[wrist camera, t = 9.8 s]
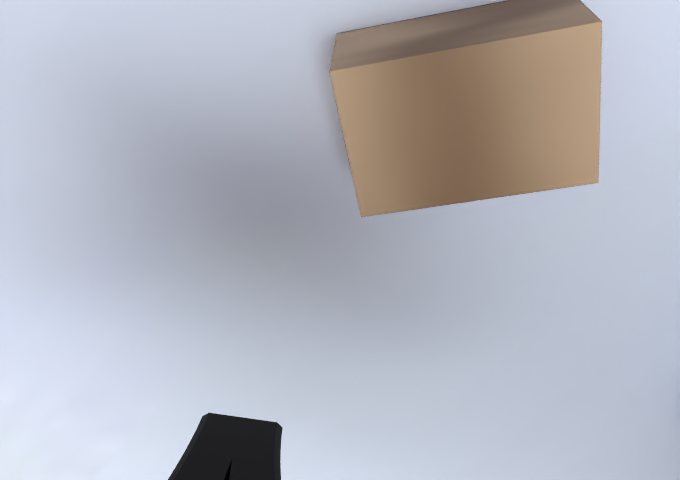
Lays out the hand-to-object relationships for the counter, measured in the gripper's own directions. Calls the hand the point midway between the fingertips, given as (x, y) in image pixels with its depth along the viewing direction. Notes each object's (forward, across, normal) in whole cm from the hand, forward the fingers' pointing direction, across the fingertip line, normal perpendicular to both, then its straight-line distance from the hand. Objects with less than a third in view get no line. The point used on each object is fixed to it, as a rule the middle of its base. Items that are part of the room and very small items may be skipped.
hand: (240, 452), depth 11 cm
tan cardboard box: (+10, -4, -4) cm, 11 cm away
